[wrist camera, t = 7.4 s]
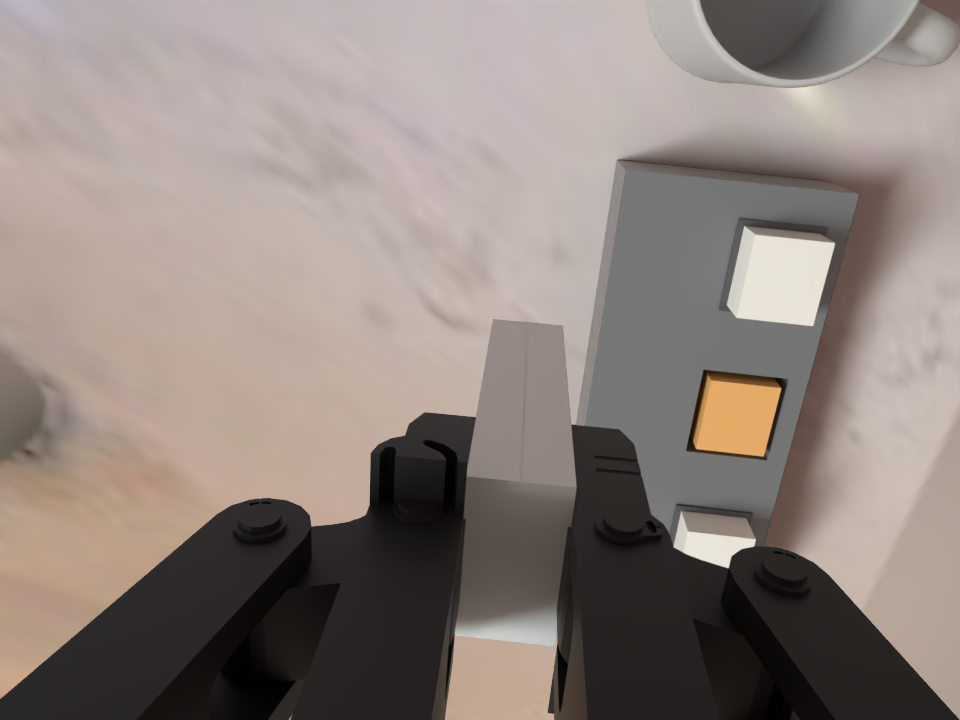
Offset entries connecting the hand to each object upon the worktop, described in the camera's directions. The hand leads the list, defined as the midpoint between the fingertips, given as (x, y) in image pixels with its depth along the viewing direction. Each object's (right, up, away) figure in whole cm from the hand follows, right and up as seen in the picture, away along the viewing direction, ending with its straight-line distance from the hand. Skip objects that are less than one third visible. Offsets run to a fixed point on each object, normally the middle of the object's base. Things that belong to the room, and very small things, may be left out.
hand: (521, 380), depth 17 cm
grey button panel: (+10, -1, +28) cm, 29 cm away
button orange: (+13, -1, +26) cm, 29 cm away
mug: (+13, +18, +20) cm, 30 cm away
